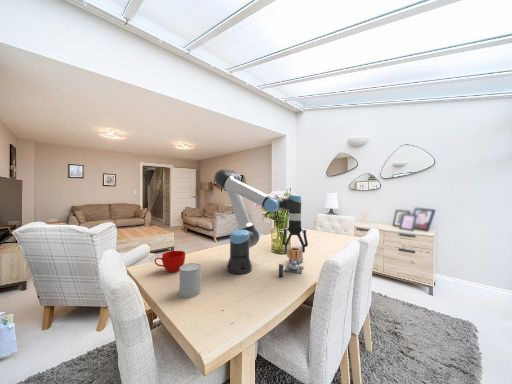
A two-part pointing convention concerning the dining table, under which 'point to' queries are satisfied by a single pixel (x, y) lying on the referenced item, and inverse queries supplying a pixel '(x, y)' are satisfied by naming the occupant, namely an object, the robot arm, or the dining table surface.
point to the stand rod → (280, 270)
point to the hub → (294, 267)
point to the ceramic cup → (172, 260)
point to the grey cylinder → (190, 280)
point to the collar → (294, 253)
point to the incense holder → (296, 259)
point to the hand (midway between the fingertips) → (294, 256)
